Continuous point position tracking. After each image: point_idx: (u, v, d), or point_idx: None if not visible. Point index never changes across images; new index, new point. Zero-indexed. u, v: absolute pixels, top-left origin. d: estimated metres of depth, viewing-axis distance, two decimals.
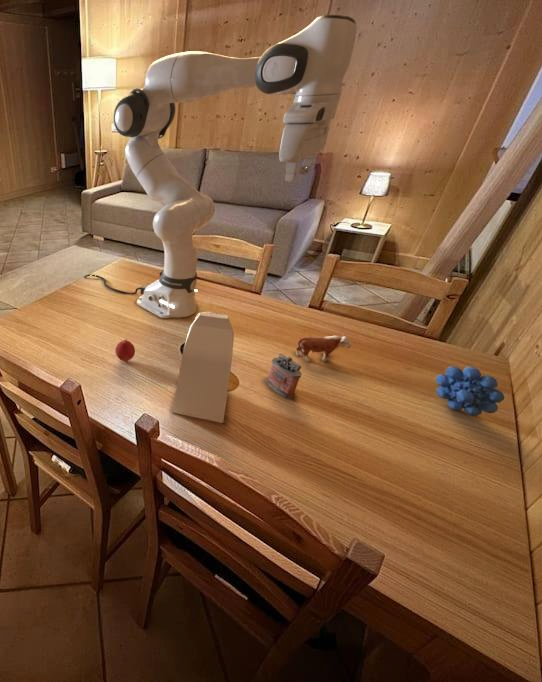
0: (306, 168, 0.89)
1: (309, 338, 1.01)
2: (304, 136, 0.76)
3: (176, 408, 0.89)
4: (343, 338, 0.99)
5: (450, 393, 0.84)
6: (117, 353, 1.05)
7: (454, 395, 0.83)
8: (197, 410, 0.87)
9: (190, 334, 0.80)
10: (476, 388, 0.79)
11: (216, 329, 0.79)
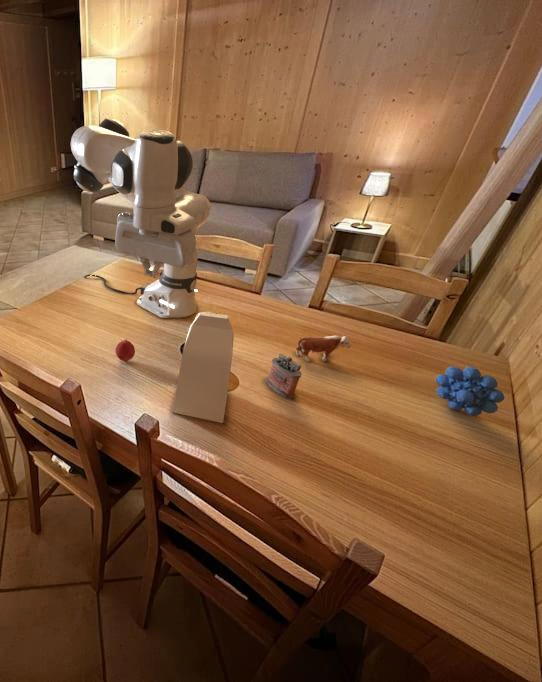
0: (152, 269, 0.85)
1: (309, 338, 1.01)
2: None
3: (176, 408, 0.89)
4: (343, 338, 0.99)
5: (450, 393, 0.84)
6: (117, 353, 1.05)
7: (454, 395, 0.83)
8: (197, 410, 0.87)
9: (190, 334, 0.80)
10: (476, 388, 0.79)
11: (216, 329, 0.79)
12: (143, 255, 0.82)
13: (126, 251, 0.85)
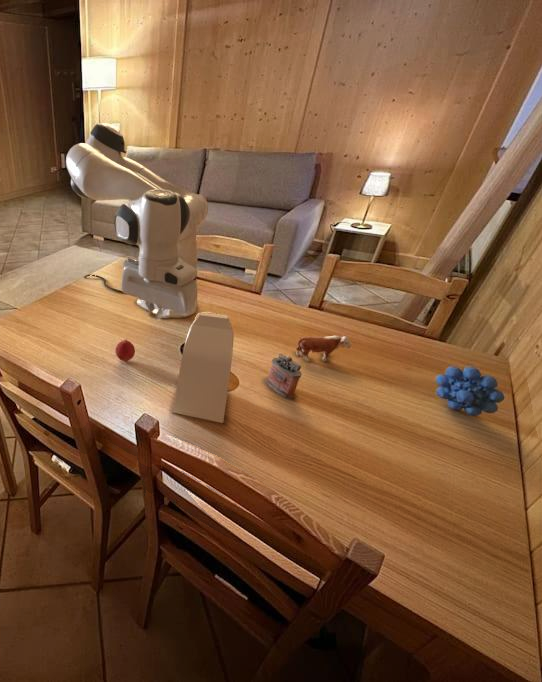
0: (156, 311, 0.90)
1: (309, 338, 1.01)
2: None
3: (176, 408, 0.89)
4: (343, 338, 0.99)
5: (450, 393, 0.84)
6: (117, 353, 1.05)
7: (454, 395, 0.83)
8: (197, 410, 0.87)
9: (190, 334, 0.80)
10: (476, 388, 0.79)
11: (216, 329, 0.79)
12: (148, 299, 0.87)
13: (131, 294, 0.90)
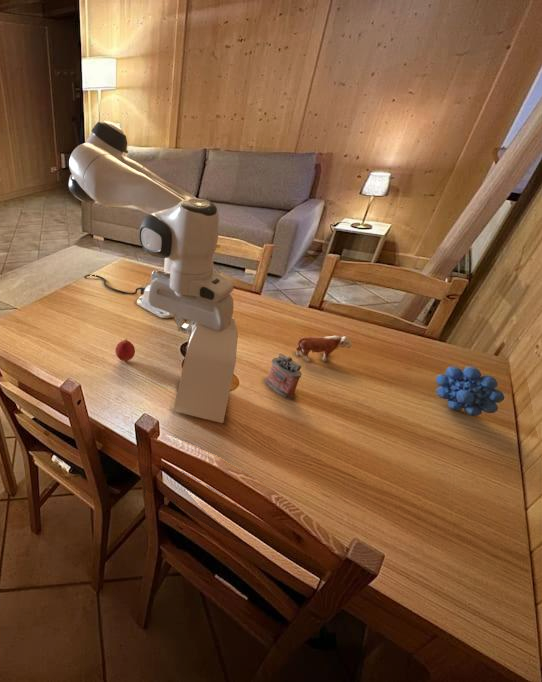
0: (186, 326, 0.85)
1: (309, 338, 1.01)
2: None
3: (177, 407, 0.89)
4: (343, 338, 0.99)
5: (450, 393, 0.84)
6: (117, 353, 1.05)
7: (454, 395, 0.83)
8: (198, 409, 0.87)
9: (195, 333, 0.80)
10: (476, 388, 0.79)
11: None
12: (178, 314, 0.82)
13: (159, 307, 0.86)
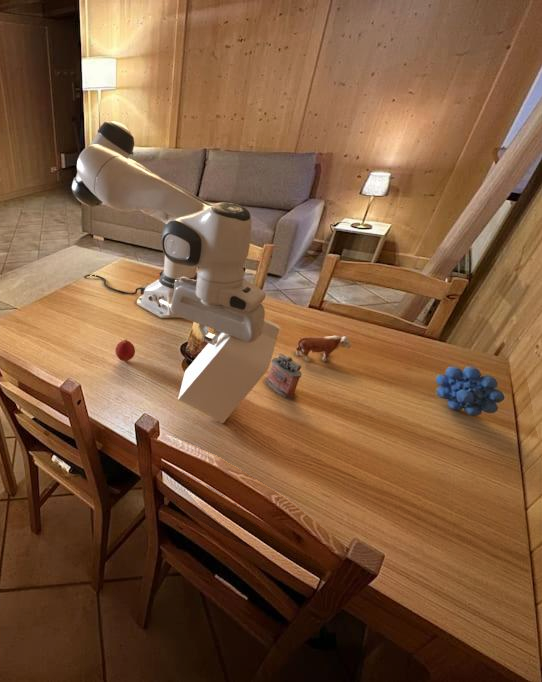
0: None
1: (309, 338, 1.01)
2: None
3: (184, 397, 0.86)
4: (343, 338, 0.99)
5: (450, 393, 0.84)
6: (117, 353, 1.05)
7: (454, 395, 0.83)
8: (204, 404, 0.85)
9: None
10: (476, 388, 0.79)
11: (262, 335, 0.76)
12: (203, 323, 0.78)
13: (183, 316, 0.82)
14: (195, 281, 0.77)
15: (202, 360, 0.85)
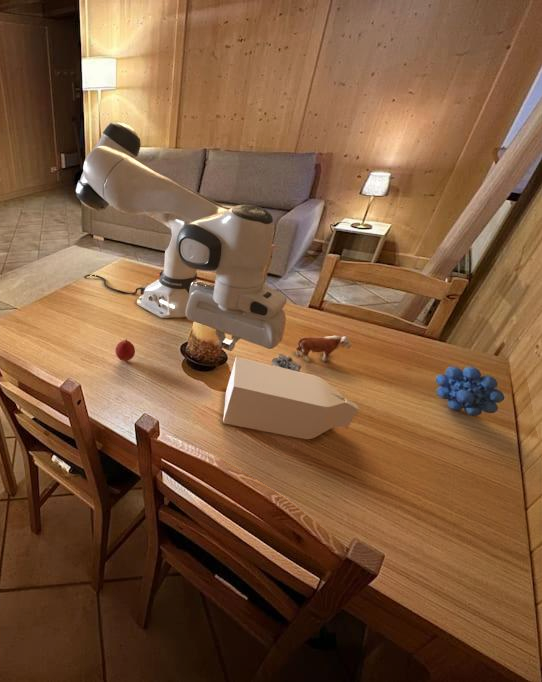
0: None
1: (309, 338, 1.01)
2: None
3: (239, 390, 0.79)
4: (343, 338, 0.99)
5: (450, 393, 0.84)
6: (117, 353, 1.05)
7: (454, 395, 0.83)
8: (239, 407, 0.82)
9: (339, 405, 0.77)
10: (476, 388, 0.79)
11: (335, 419, 0.80)
12: (220, 329, 0.76)
13: (199, 321, 0.79)
14: (212, 286, 0.75)
15: (280, 381, 0.81)
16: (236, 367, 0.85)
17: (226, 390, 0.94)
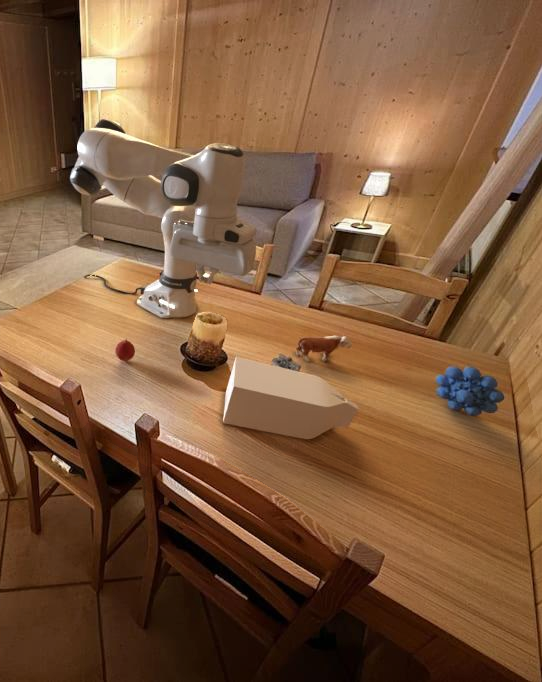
0: None
1: (309, 338, 1.01)
2: None
3: (239, 390, 0.79)
4: (343, 338, 0.99)
5: (450, 393, 0.84)
6: (117, 353, 1.05)
7: (454, 395, 0.83)
8: (239, 407, 0.82)
9: (339, 405, 0.77)
10: (476, 388, 0.79)
11: (335, 419, 0.80)
12: (200, 262, 0.85)
13: (181, 258, 0.88)
14: (192, 222, 0.84)
15: (280, 381, 0.81)
16: (236, 367, 0.85)
17: (226, 390, 0.94)
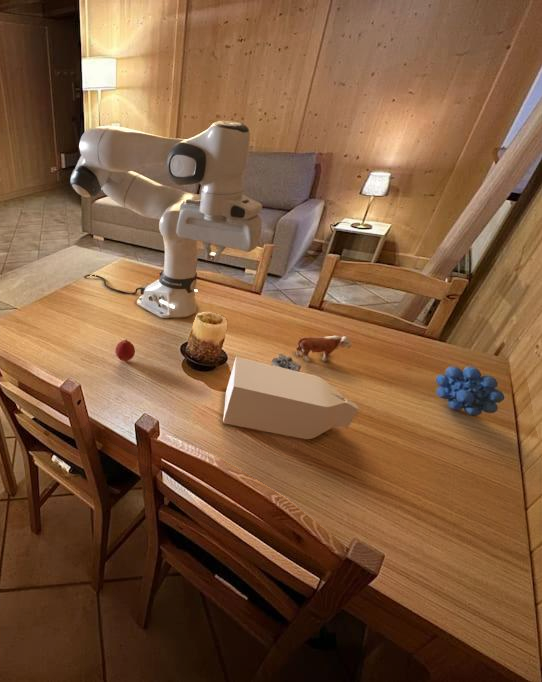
0: None
1: (309, 338, 1.01)
2: None
3: (239, 390, 0.79)
4: (343, 338, 0.99)
5: (450, 393, 0.84)
6: (117, 353, 1.05)
7: (454, 395, 0.83)
8: (239, 407, 0.82)
9: (339, 405, 0.77)
10: (476, 388, 0.79)
11: (335, 419, 0.80)
12: (206, 240, 0.87)
13: (188, 237, 0.90)
14: (199, 201, 0.85)
15: (280, 381, 0.81)
16: (236, 367, 0.85)
17: (226, 390, 0.94)
